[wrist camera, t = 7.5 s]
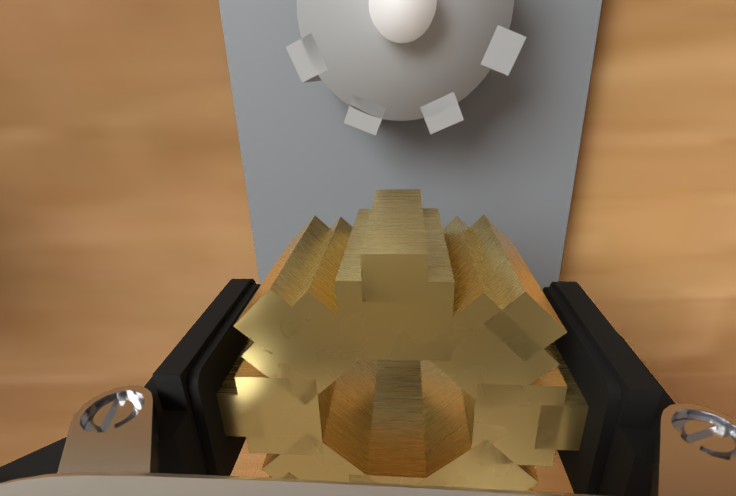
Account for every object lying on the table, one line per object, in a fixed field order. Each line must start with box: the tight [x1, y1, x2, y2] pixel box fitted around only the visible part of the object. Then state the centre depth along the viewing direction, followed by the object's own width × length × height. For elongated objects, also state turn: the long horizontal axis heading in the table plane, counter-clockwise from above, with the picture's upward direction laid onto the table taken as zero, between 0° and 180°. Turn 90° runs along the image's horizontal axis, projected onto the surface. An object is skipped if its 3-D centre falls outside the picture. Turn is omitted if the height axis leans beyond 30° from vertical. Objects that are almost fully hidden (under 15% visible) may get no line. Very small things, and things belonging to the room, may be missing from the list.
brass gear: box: [217, 189, 589, 491], centre depth 10 cm, size 7×7×4 cm
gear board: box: [219, 0, 602, 290], centre depth 16 cm, size 14×17×6 cm
